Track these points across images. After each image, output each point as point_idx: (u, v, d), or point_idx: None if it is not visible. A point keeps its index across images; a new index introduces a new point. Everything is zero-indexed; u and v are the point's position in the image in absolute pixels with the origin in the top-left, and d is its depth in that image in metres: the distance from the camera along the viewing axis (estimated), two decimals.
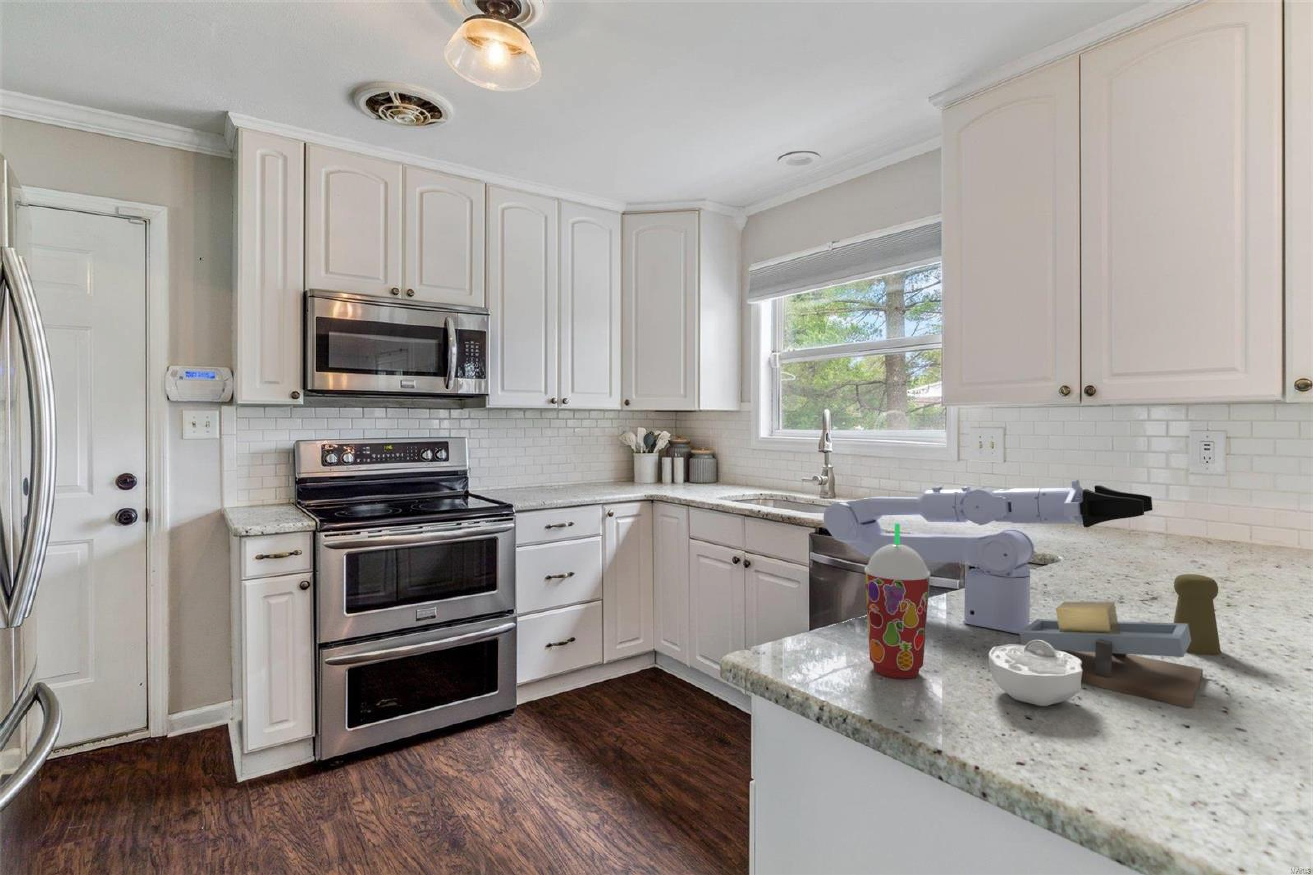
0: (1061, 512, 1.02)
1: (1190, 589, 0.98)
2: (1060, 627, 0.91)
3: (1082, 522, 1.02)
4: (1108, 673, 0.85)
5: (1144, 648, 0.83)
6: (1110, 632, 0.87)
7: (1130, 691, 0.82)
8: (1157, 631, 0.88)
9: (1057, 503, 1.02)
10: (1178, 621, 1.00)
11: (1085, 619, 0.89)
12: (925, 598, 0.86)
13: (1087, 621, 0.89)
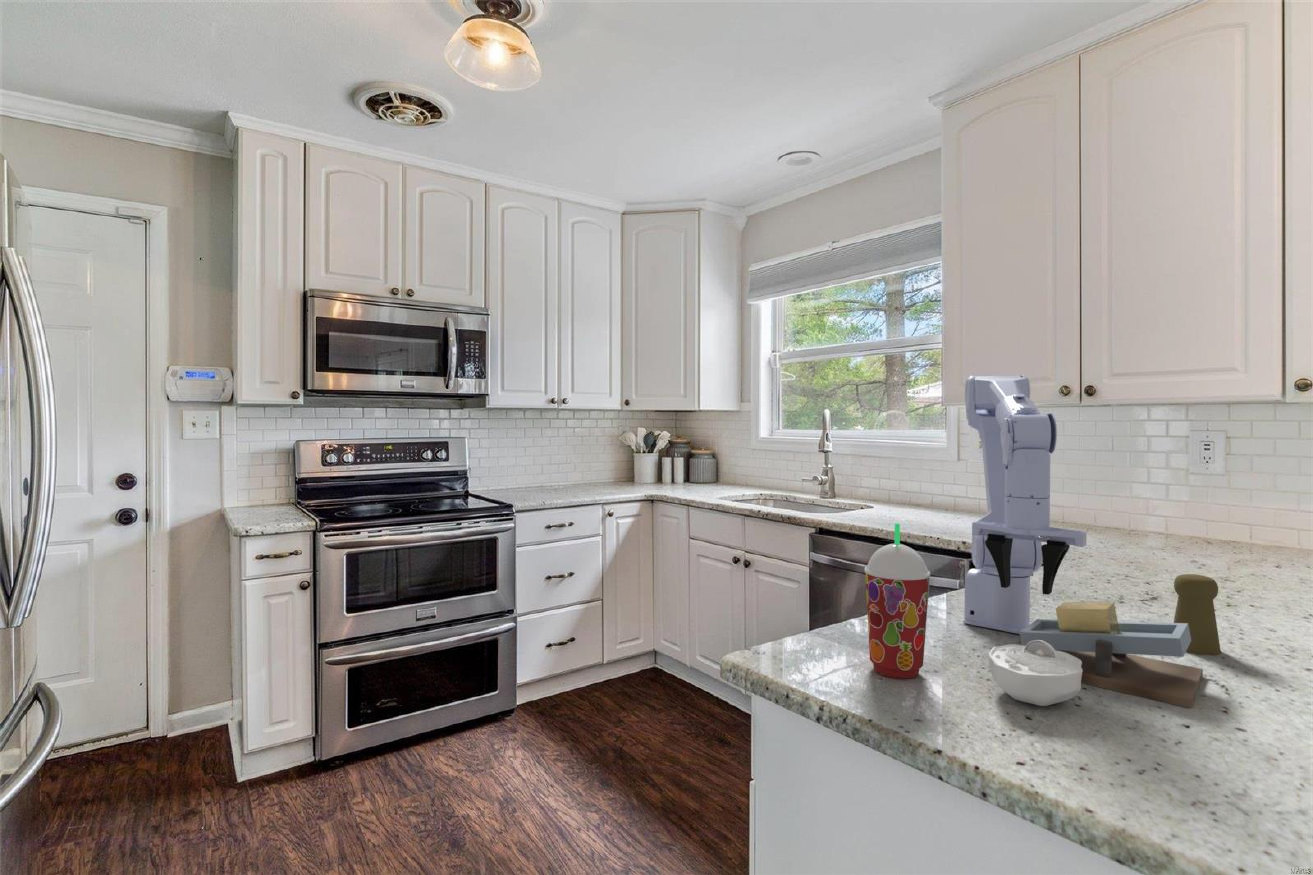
0: None
1: (1190, 589, 0.98)
2: (1060, 627, 0.91)
3: None
4: (1108, 673, 0.85)
5: (1144, 648, 0.83)
6: (1110, 632, 0.87)
7: (1130, 691, 0.82)
8: (1157, 631, 0.88)
9: None
10: (1178, 621, 1.00)
11: (1085, 619, 0.89)
12: (925, 598, 0.86)
13: (1087, 621, 0.89)
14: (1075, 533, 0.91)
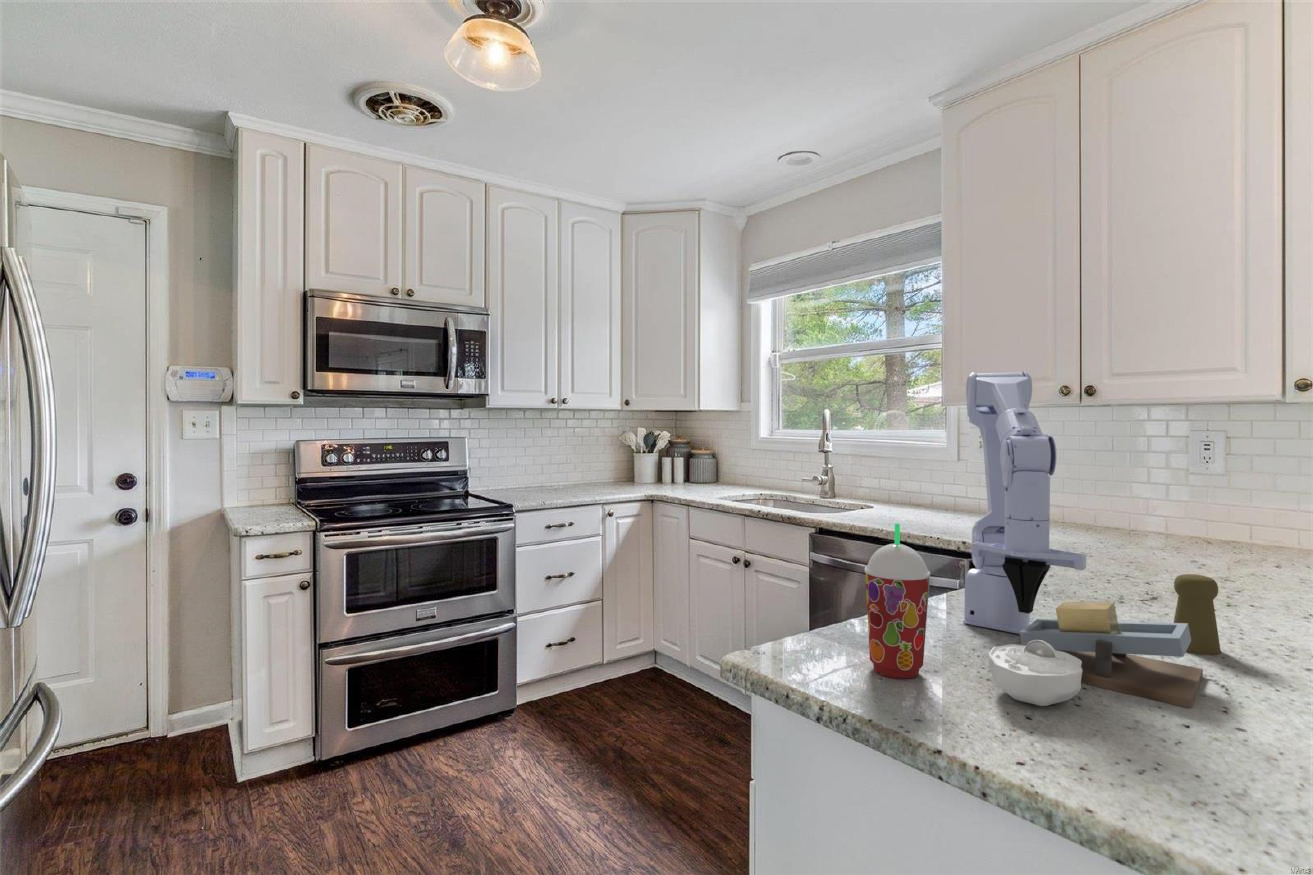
0: None
1: (1190, 589, 0.98)
2: (1060, 627, 0.91)
3: None
4: (1108, 673, 0.85)
5: (1144, 648, 0.83)
6: (1110, 632, 0.87)
7: (1130, 691, 0.82)
8: (1157, 631, 0.88)
9: None
10: (1178, 621, 1.00)
11: (1085, 619, 0.89)
12: (925, 598, 0.86)
13: (1087, 621, 0.89)
14: (1075, 556, 0.91)
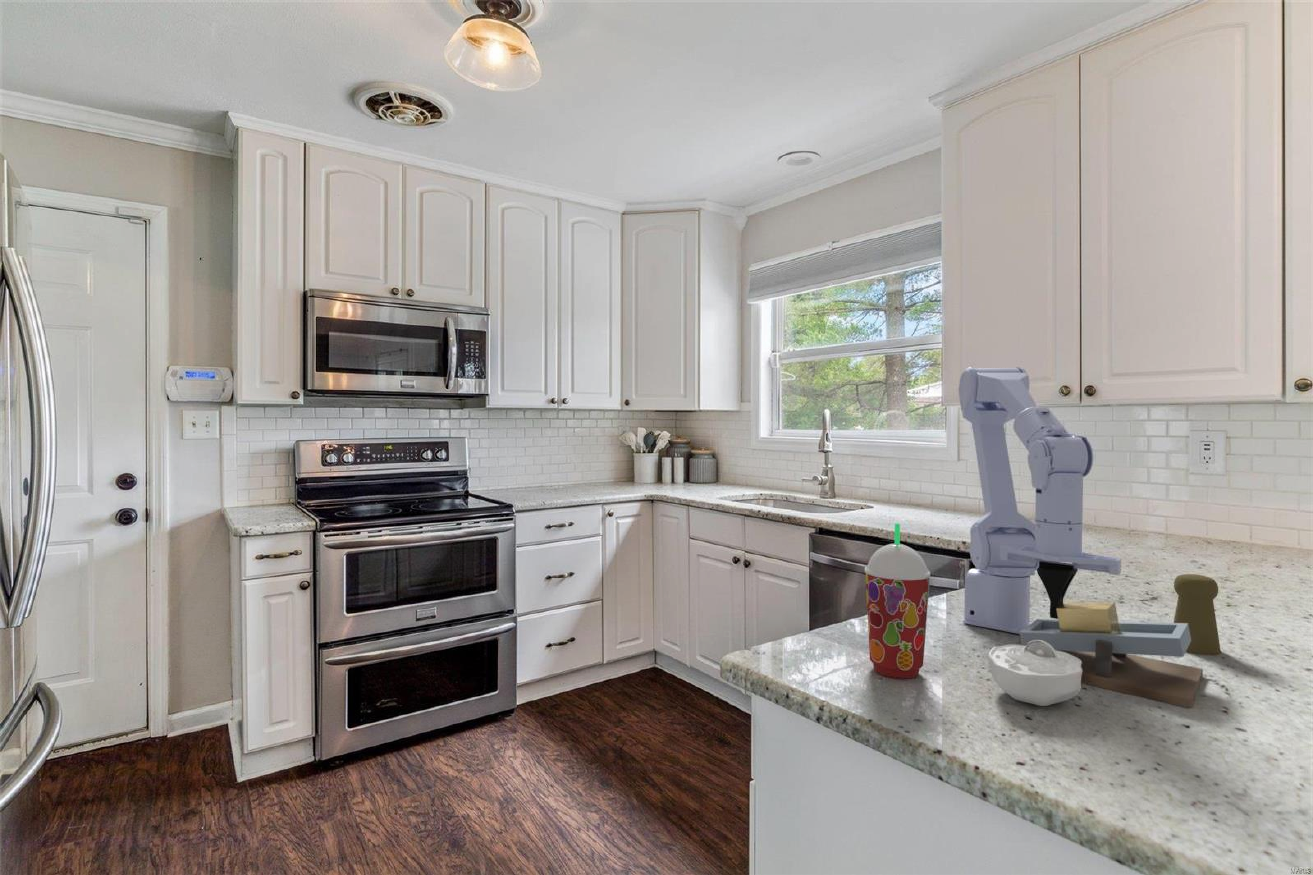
0: None
1: (1190, 589, 0.98)
2: (1061, 627, 0.91)
3: None
4: (1108, 673, 0.85)
5: (1144, 648, 0.83)
6: (1111, 632, 0.87)
7: (1130, 691, 0.82)
8: (1157, 631, 0.88)
9: None
10: (1178, 621, 1.00)
11: (1085, 619, 0.89)
12: (925, 598, 0.86)
13: (1088, 621, 0.89)
14: (1109, 560, 0.88)
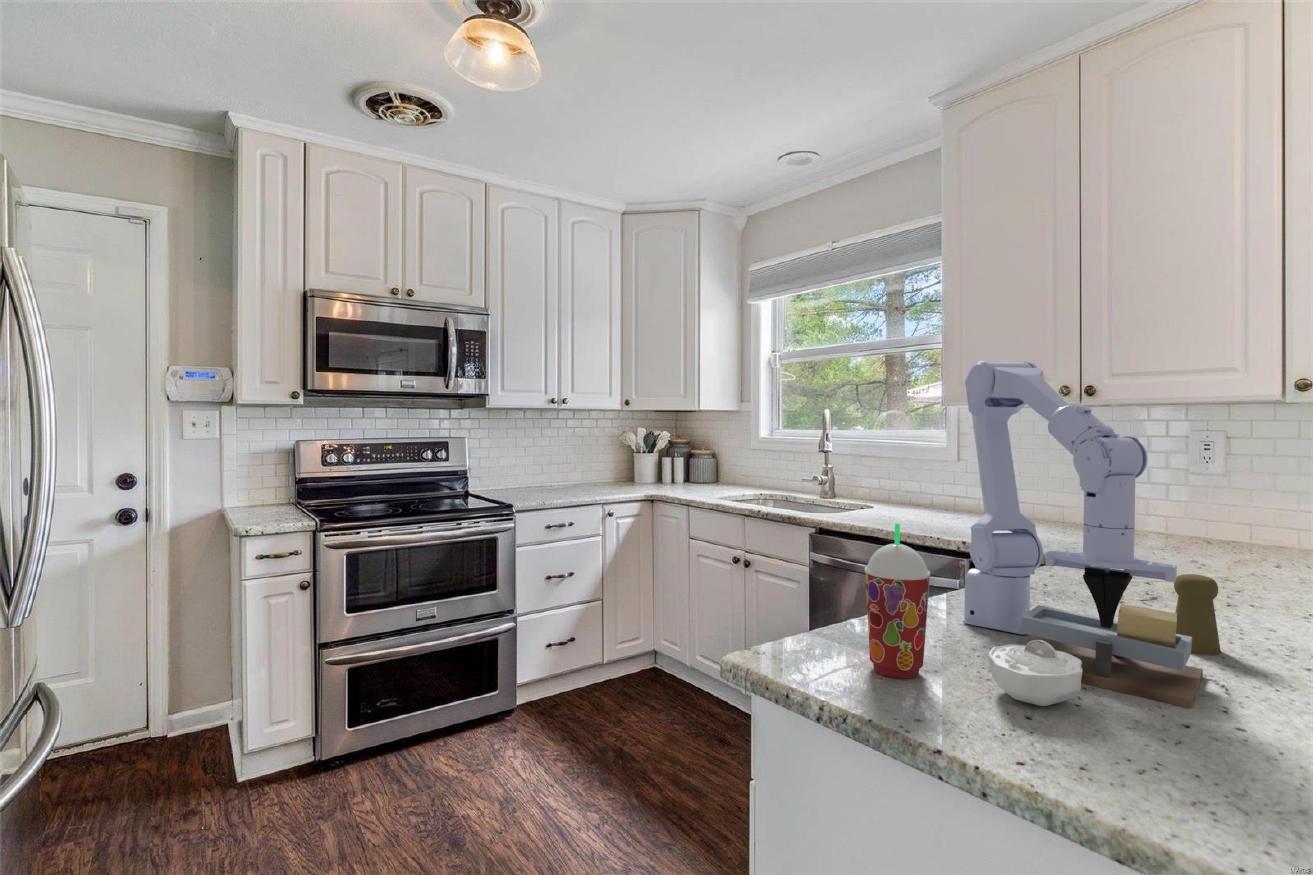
0: None
1: (1190, 589, 0.98)
2: (1118, 631, 0.87)
3: None
4: (1108, 673, 0.85)
5: (1145, 656, 0.83)
6: (1174, 645, 0.83)
7: (1130, 691, 0.82)
8: None
9: (1083, 543, 0.91)
10: (1178, 621, 1.00)
11: (1149, 628, 0.85)
12: (925, 598, 0.86)
13: (1151, 630, 0.84)
14: (1165, 567, 0.84)
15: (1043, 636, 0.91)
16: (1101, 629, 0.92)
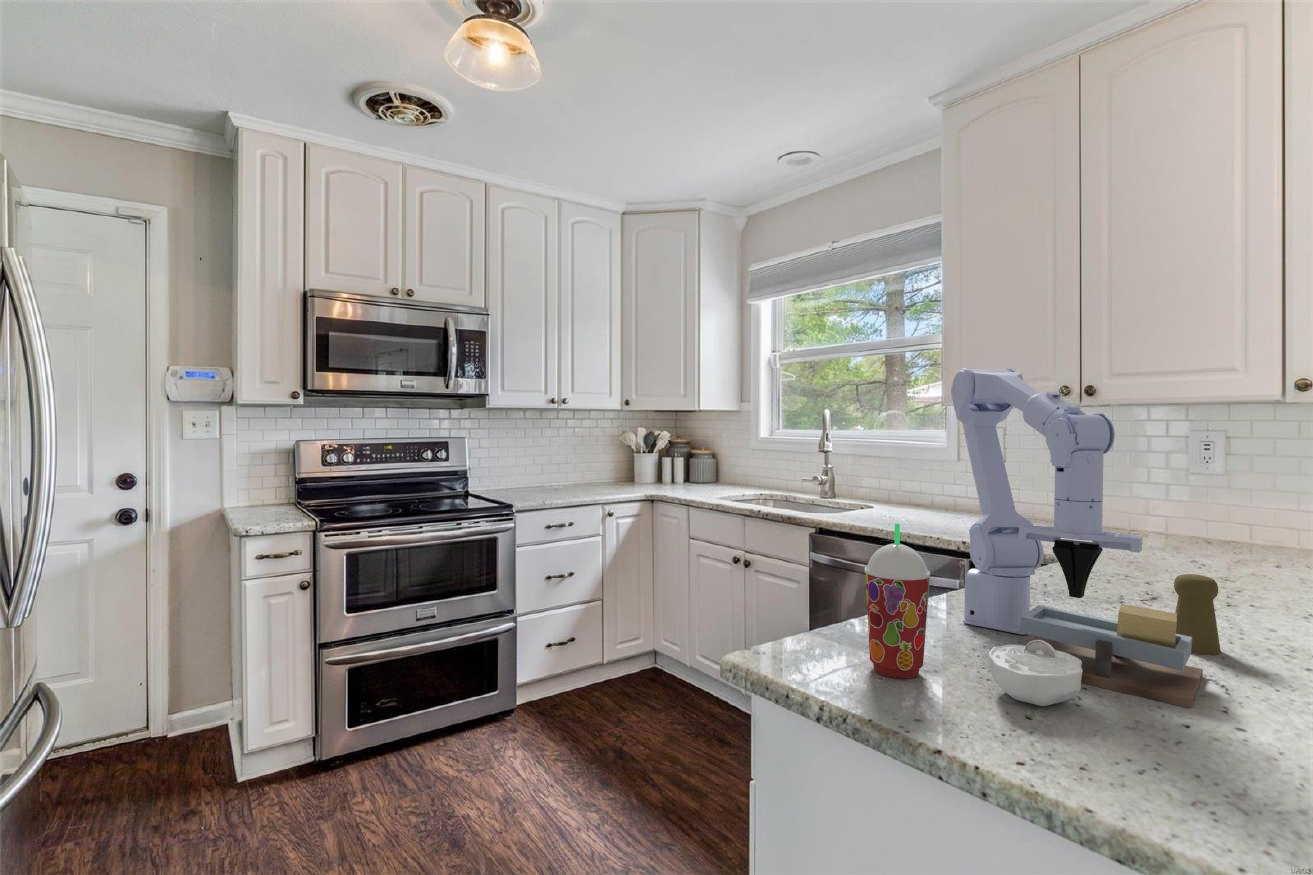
0: None
1: (1190, 589, 0.98)
2: (1118, 631, 0.87)
3: None
4: (1108, 673, 0.85)
5: (1145, 656, 0.83)
6: (1174, 645, 0.83)
7: (1130, 691, 0.82)
8: None
9: (1054, 517, 0.94)
10: (1178, 621, 1.00)
11: (1149, 628, 0.85)
12: (925, 598, 0.86)
13: (1151, 630, 0.84)
14: (1131, 538, 0.88)
15: (1043, 636, 0.91)
16: (1101, 629, 0.92)
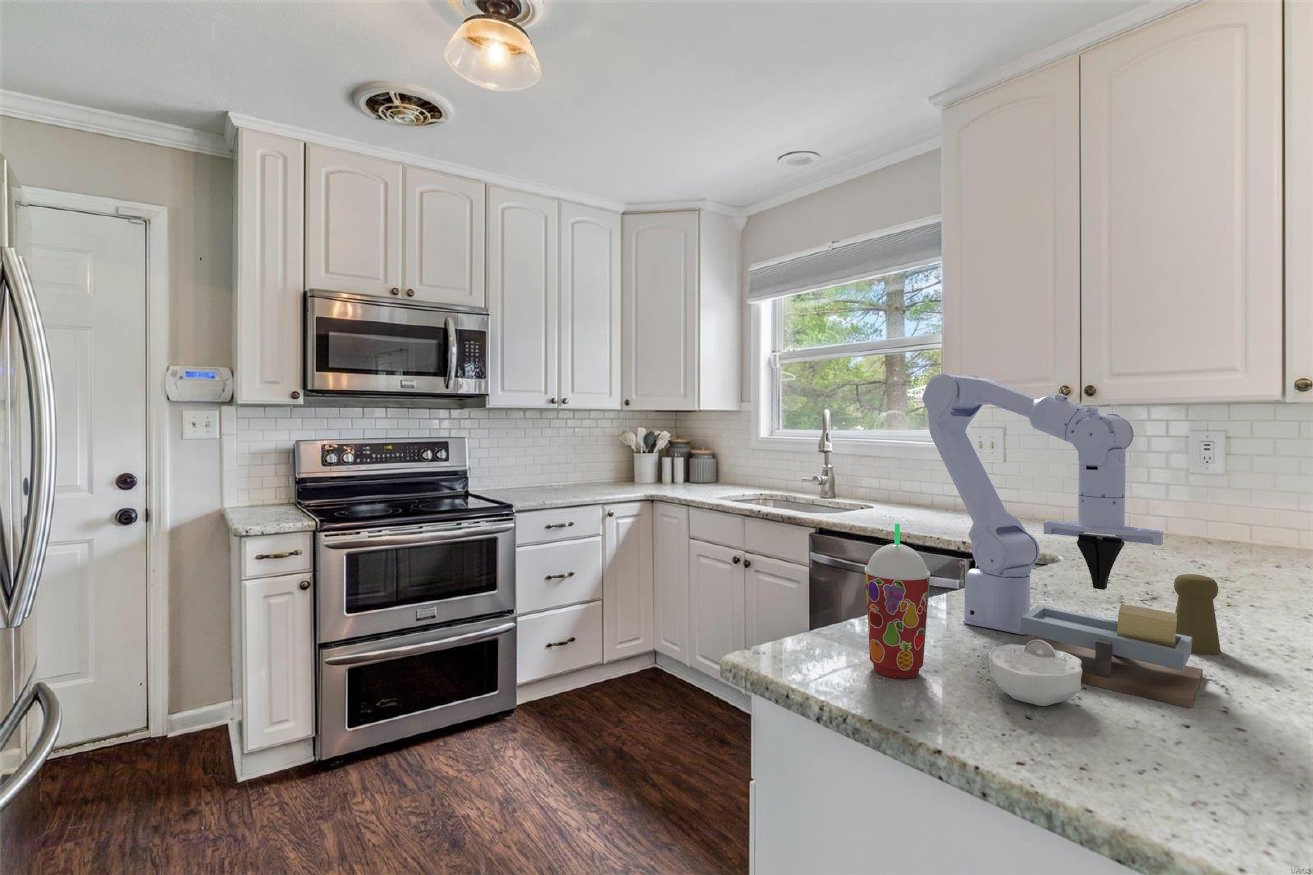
0: None
1: (1190, 589, 0.98)
2: (1118, 631, 0.87)
3: None
4: (1108, 673, 0.85)
5: (1145, 656, 0.83)
6: (1174, 645, 0.83)
7: (1130, 691, 0.82)
8: None
9: (1078, 512, 0.99)
10: (1178, 621, 1.00)
11: (1149, 628, 0.85)
12: (925, 598, 0.86)
13: (1151, 630, 0.84)
14: (1153, 532, 0.92)
15: (1043, 636, 0.91)
16: (1101, 629, 0.92)
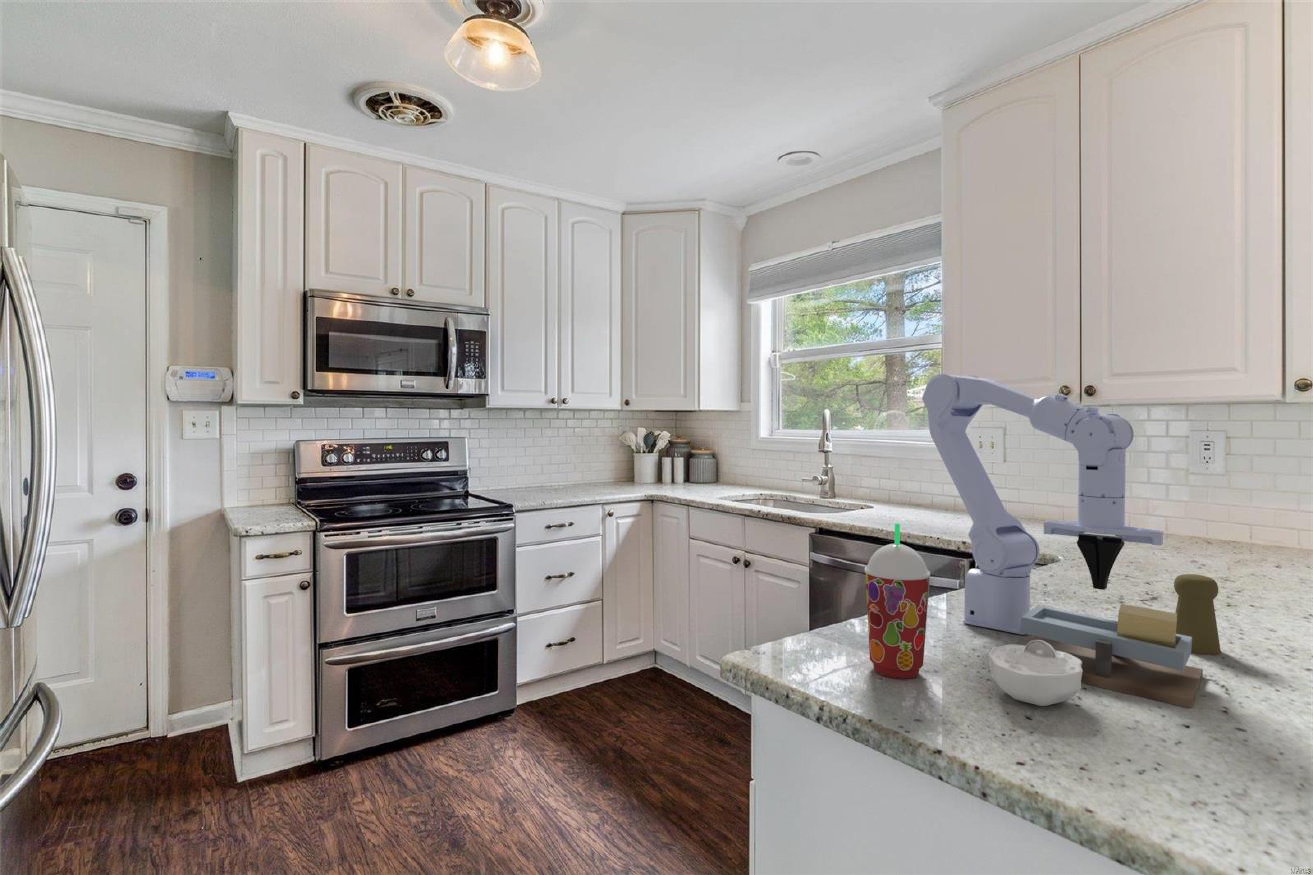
0: None
1: (1190, 589, 0.98)
2: (1118, 631, 0.87)
3: None
4: (1108, 673, 0.85)
5: (1145, 656, 0.83)
6: (1174, 645, 0.83)
7: (1130, 691, 0.82)
8: None
9: (1078, 512, 0.99)
10: (1178, 621, 1.00)
11: (1149, 628, 0.85)
12: (925, 598, 0.86)
13: (1151, 630, 0.84)
14: (1153, 532, 0.92)
15: (1043, 636, 0.91)
16: (1101, 629, 0.92)
